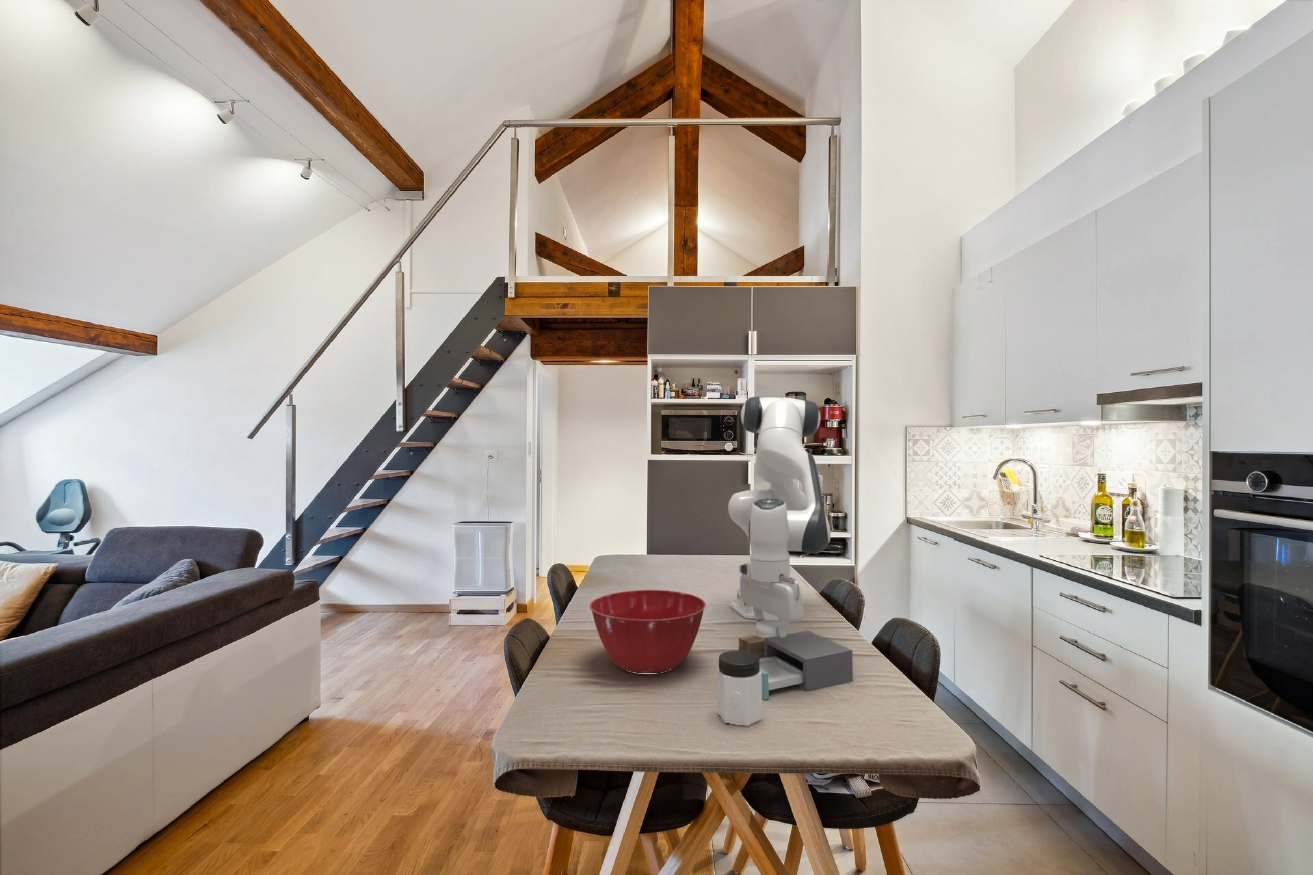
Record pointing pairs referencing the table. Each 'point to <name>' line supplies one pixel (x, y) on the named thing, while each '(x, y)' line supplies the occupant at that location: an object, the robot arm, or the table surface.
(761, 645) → the walnut block
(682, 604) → the mixing bowl
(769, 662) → the tray
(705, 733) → the table surface
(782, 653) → the grey drawer box
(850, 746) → the table surface
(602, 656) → the table surface
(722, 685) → the jar
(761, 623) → the disc
